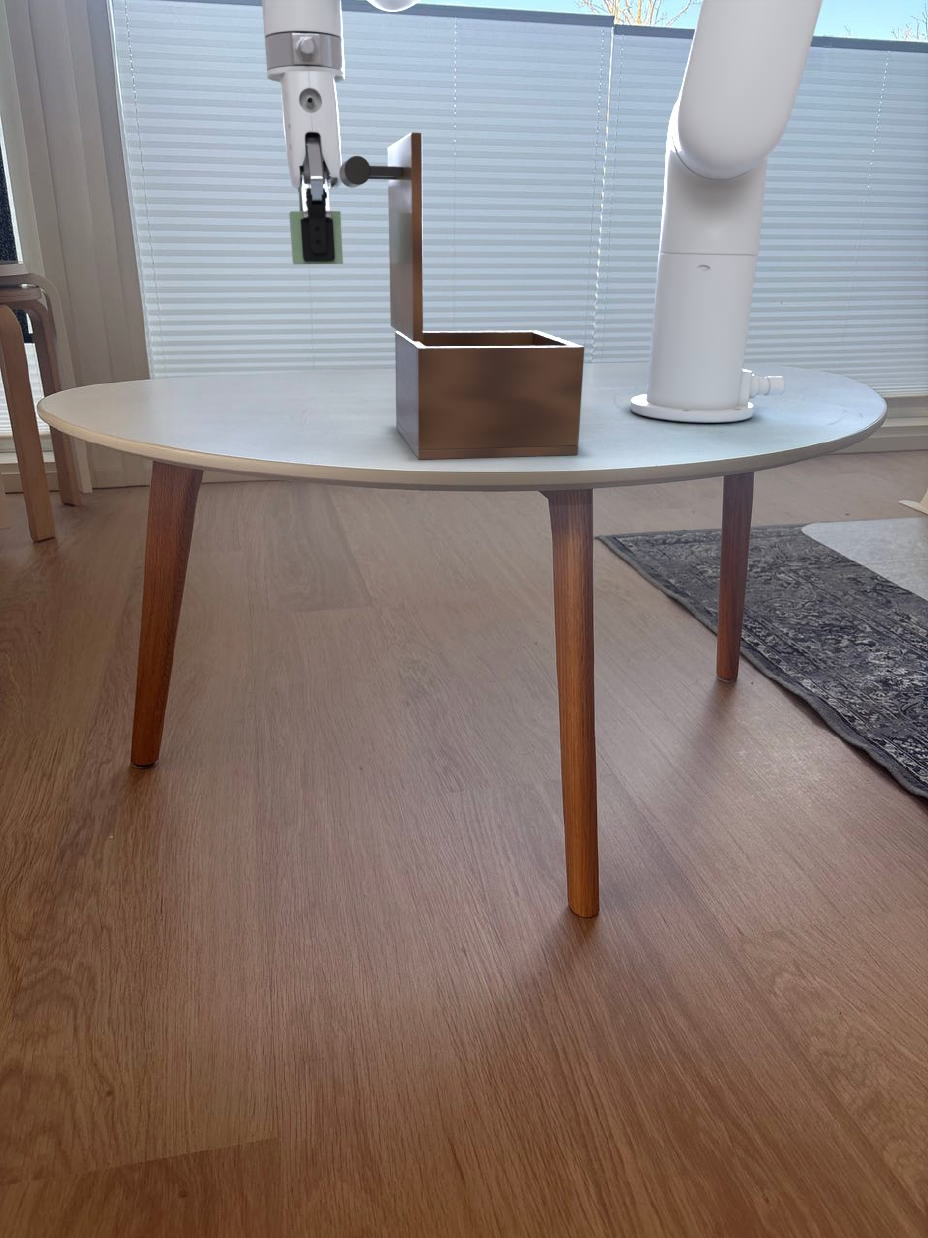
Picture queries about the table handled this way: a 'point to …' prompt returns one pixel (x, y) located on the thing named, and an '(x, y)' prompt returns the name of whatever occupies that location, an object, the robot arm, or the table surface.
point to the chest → (488, 394)
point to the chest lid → (400, 227)
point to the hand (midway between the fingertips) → (317, 258)
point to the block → (297, 238)
